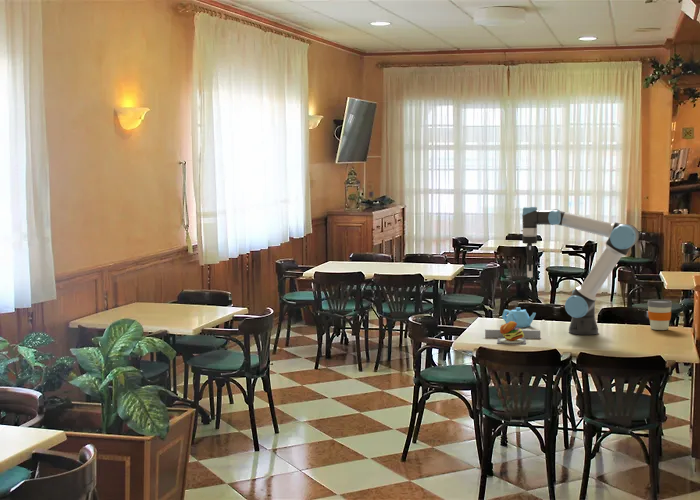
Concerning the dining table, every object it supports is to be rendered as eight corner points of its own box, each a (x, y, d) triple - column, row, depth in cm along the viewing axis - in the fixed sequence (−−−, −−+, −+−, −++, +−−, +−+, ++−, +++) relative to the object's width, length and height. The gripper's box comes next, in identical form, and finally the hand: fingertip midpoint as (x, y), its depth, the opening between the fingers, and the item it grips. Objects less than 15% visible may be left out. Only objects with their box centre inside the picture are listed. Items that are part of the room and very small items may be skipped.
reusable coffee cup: (646, 329, 446) (646, 302, 444) (647, 326, 457) (647, 299, 456) (671, 330, 441) (671, 302, 440) (672, 327, 452) (672, 299, 451)
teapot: (526, 323, 472) (526, 305, 472) (536, 328, 458) (536, 308, 457) (500, 325, 470) (500, 306, 469) (510, 329, 455) (510, 309, 454)
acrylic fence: (540, 338, 427) (540, 330, 427) (540, 338, 426) (540, 330, 425) (485, 337, 432) (485, 329, 432) (485, 337, 431) (485, 329, 431)
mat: (525, 339, 424) (525, 338, 424) (525, 344, 410) (525, 343, 410) (497, 338, 427) (497, 337, 427) (497, 343, 413) (497, 342, 413)
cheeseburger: (525, 339, 412) (517, 321, 411) (504, 346, 415) (497, 328, 414) (524, 334, 422) (517, 316, 421) (504, 341, 425) (497, 323, 424)
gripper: (522, 234, 450) (522, 273, 452) (522, 237, 426) (522, 278, 427) (536, 234, 449) (536, 273, 450) (537, 237, 424) (537, 278, 426)
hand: (529, 276), depth 439 cm, fingers open, 13 cm apart
